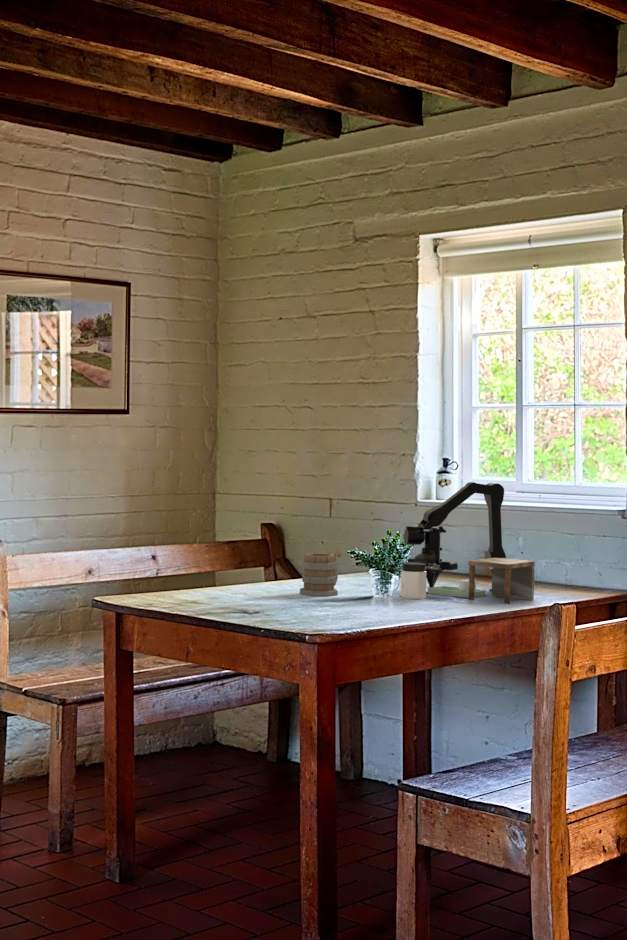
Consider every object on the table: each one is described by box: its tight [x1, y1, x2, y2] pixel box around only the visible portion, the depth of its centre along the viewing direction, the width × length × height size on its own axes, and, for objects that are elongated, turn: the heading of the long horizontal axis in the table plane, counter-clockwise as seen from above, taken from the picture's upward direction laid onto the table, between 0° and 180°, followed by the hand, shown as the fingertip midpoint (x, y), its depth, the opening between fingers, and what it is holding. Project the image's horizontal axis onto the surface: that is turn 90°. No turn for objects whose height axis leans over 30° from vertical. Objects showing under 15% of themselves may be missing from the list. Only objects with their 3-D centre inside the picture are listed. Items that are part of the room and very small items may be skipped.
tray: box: [427, 578, 487, 599], centre depth 457 cm, size 10×18×6 cm, turn 52°
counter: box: [467, 557, 536, 605], centre depth 446 cm, size 18×16×14 cm
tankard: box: [299, 549, 343, 598], centre depth 452 cm, size 20×13×15 cm, turn 143°
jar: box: [399, 561, 427, 600], centre depth 446 cm, size 9×8×12 cm
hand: (431, 587), depth 464 cm, fingers closed
